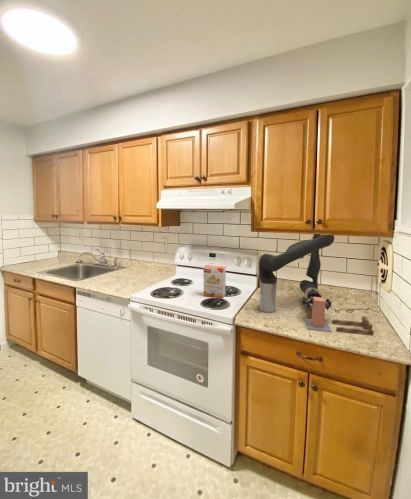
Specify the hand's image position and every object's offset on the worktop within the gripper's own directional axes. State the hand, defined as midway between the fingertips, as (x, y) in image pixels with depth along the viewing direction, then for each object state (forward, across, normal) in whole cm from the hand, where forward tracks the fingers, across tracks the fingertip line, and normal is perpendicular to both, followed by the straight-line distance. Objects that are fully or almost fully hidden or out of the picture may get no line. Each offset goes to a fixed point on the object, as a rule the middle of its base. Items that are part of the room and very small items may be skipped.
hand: (318, 307), depth 130 cm
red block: (0, 0, +10) cm, 10 cm away
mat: (0, 0, +10) cm, 10 cm away
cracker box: (-30, -60, +10) cm, 68 cm away
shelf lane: (0, +16, +10) cm, 19 cm away
